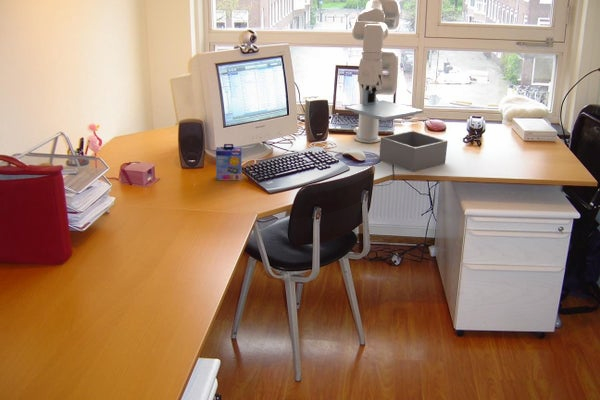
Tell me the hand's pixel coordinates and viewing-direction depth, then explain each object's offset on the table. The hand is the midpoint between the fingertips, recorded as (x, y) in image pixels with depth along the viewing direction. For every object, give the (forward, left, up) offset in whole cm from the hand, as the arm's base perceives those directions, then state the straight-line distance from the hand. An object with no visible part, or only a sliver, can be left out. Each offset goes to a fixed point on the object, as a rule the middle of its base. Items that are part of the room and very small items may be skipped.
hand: (369, 101), depth 271 cm
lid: (+8, 0, -3) cm, 9 cm away
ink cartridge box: (-19, -56, -28) cm, 65 cm away
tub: (+7, +21, -27) cm, 35 cm away
